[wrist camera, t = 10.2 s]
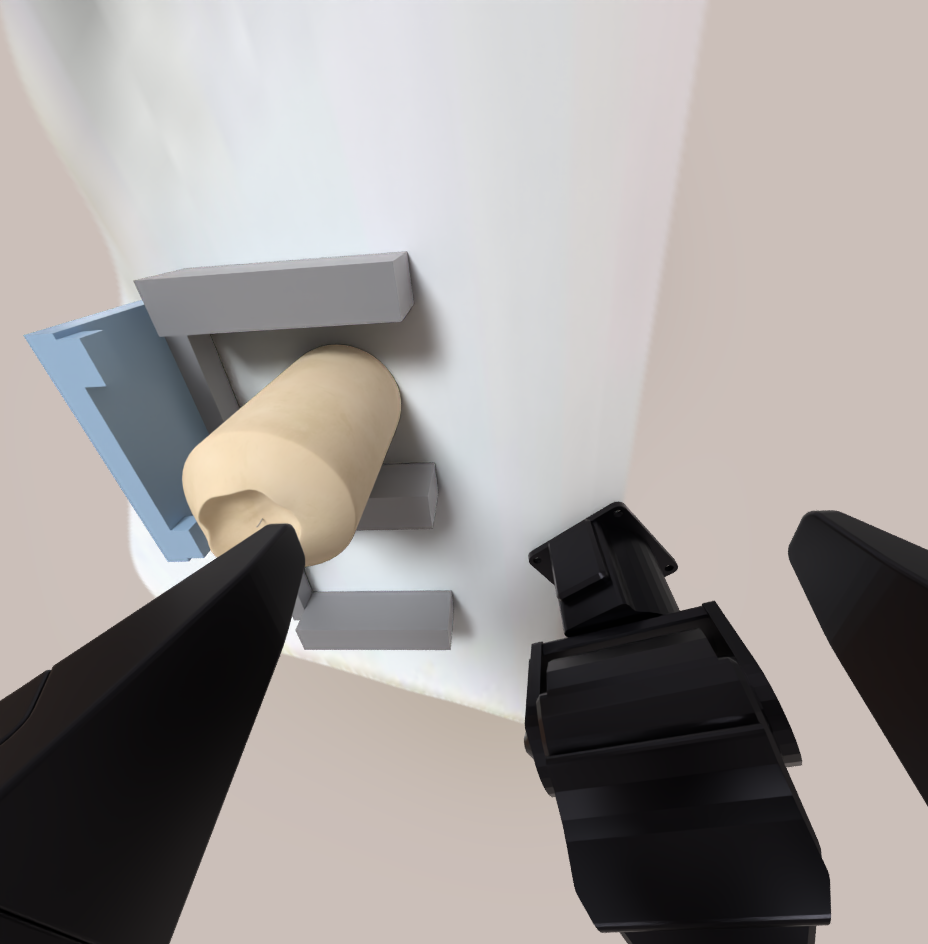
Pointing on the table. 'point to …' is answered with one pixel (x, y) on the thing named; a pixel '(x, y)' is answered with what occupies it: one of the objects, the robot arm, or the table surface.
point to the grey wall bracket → (213, 402)
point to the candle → (298, 454)
